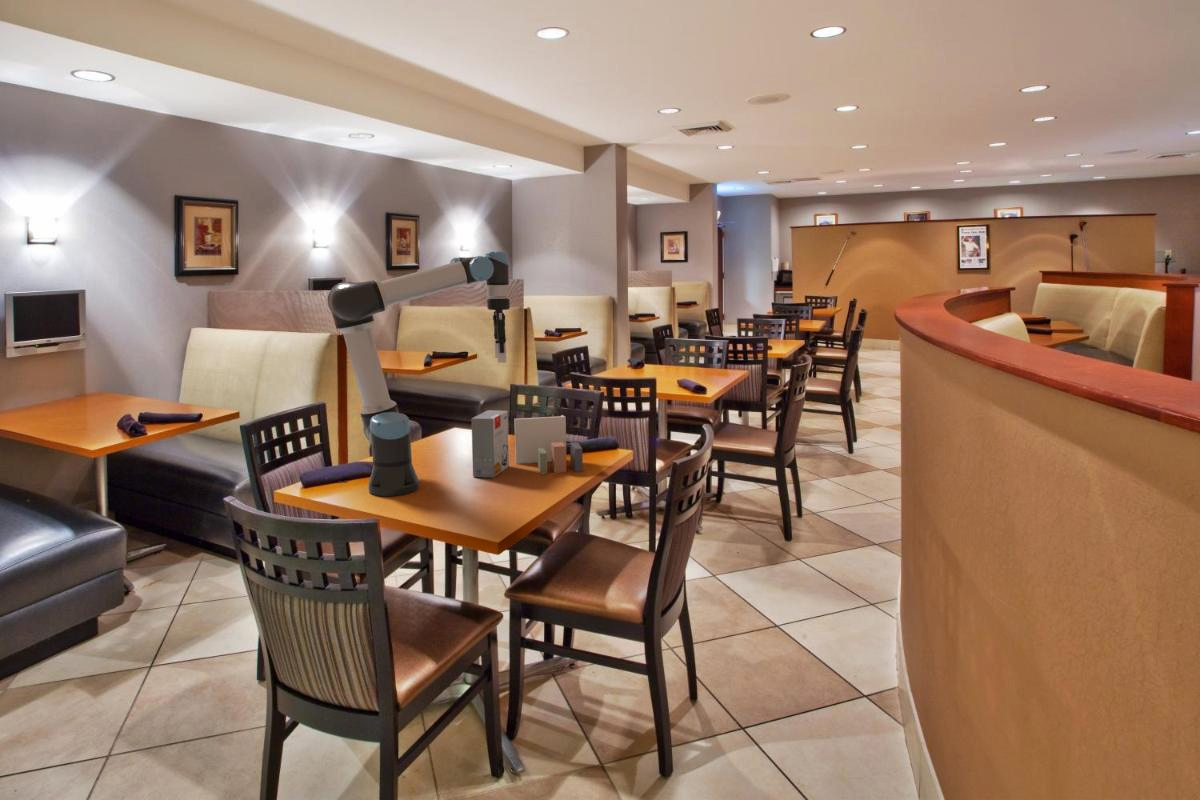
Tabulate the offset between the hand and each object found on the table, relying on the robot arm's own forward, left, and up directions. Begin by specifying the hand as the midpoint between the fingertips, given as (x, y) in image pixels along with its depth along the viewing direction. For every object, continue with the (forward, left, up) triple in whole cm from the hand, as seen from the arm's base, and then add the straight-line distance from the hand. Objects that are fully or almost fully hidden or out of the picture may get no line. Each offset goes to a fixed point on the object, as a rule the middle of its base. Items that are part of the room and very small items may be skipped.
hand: (500, 360), depth 242 cm
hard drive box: (-5, -10, -37) cm, 38 cm away
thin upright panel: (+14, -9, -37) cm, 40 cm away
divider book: (+12, -13, -37) cm, 41 cm away
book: (+18, -13, -37) cm, 43 cm away
